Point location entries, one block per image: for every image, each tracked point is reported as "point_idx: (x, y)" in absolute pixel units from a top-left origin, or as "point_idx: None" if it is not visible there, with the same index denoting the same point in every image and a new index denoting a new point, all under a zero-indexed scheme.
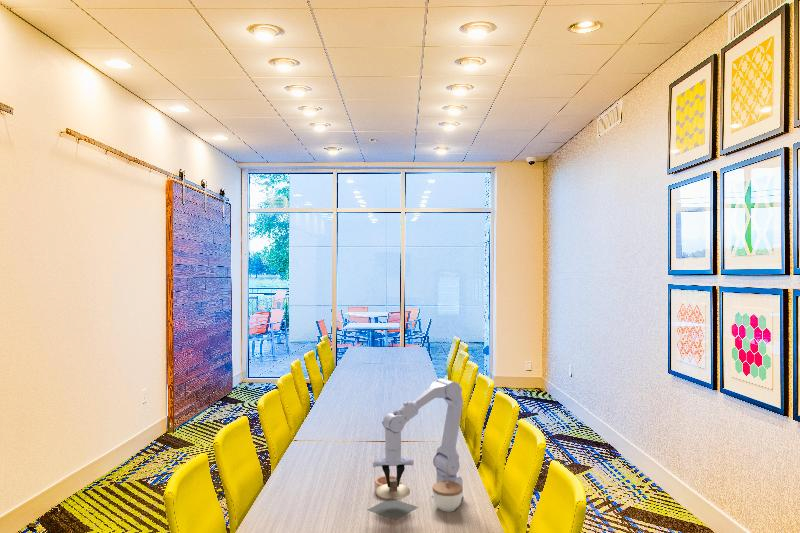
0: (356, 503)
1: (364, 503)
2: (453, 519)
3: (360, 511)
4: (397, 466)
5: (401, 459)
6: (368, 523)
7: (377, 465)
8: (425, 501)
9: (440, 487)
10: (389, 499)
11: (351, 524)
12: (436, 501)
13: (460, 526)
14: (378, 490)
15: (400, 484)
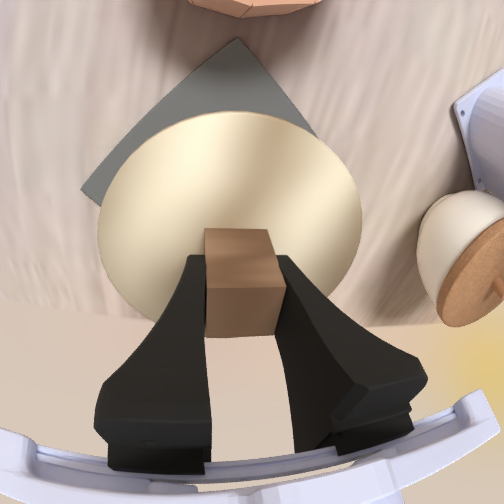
0: (26, 95)
1: (65, 93)
2: (409, 293)
3: (52, 193)
4: (318, 445)
5: (425, 459)
6: (102, 298)
7: (62, 465)
8: (413, 133)
9: (473, 290)
10: (227, 60)
11: (46, 296)
12: (420, 269)
13: (397, 325)
14: (114, 250)
15: (328, 157)
